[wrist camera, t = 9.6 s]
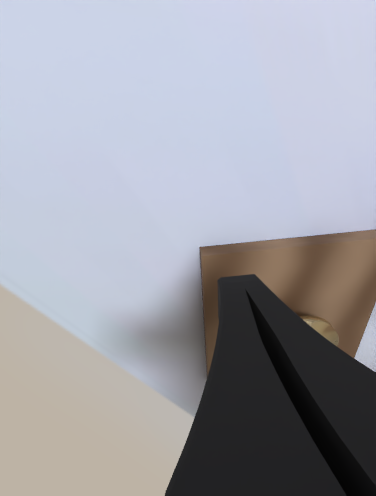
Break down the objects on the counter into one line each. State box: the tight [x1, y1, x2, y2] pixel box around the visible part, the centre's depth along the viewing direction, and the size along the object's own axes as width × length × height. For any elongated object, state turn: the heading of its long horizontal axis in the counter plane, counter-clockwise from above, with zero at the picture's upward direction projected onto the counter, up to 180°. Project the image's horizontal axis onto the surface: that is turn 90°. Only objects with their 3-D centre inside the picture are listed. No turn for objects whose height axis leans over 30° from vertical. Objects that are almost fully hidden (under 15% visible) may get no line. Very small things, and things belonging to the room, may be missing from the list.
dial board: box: [200, 230, 376, 377], centre depth 23 cm, size 14×16×3 cm
